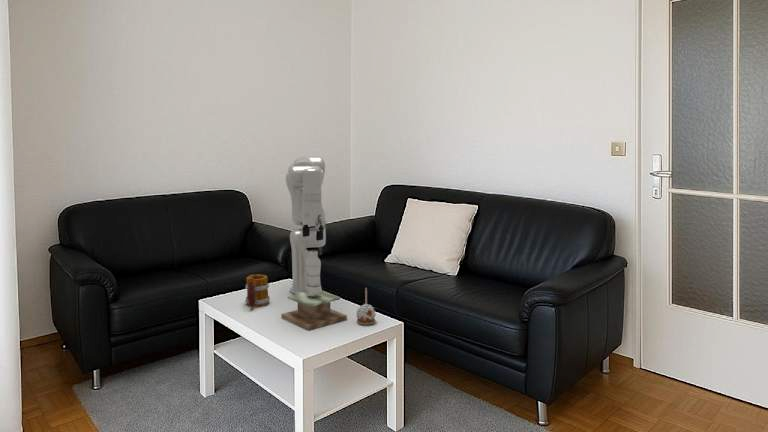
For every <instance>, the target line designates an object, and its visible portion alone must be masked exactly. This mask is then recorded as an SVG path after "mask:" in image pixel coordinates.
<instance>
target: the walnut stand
mask: <svg viewBox="0 0 768 432" xmlns="http://www.w3.org/2000/svg"><path fill="white" fill-rule="evenodd" d="M287 299H289V300H291V301H292V302H295V303H296V304H297V309H296V310H292V311H288V312H284V313H281V319H282V320H284V321H286V322H288V323H291V324H292V325H294V326H297V327H300V328H302V329H305V330H306V331H312V330H315V329H319V328H322V327H326V326H330V325H334V324H337V323H340V322H343V321H347V320H348V315H347V314H344V313H342V312H340V311H336V310H334V309H331V302H336V301H340V300H341V297H340V296H338V295H335V294H332V293H330V292H328V291H325V290H322V293H321V295H320V296H318V297H309V296H308V295H307V293H306V292H303V293H299V294H291V295H288V296H287Z"/></svg>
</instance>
